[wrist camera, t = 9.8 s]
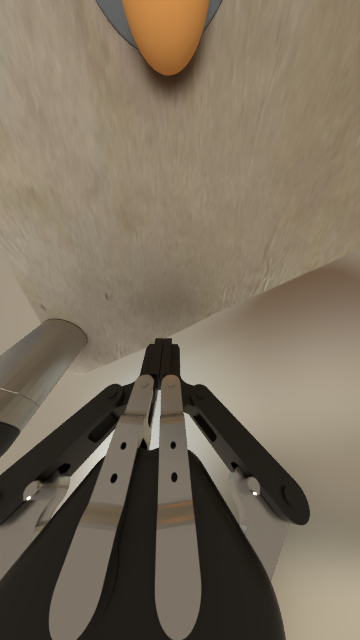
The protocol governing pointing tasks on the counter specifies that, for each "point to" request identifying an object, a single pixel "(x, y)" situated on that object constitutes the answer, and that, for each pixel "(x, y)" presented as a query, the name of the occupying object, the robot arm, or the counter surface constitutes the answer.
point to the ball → (166, 30)
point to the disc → (116, 15)
